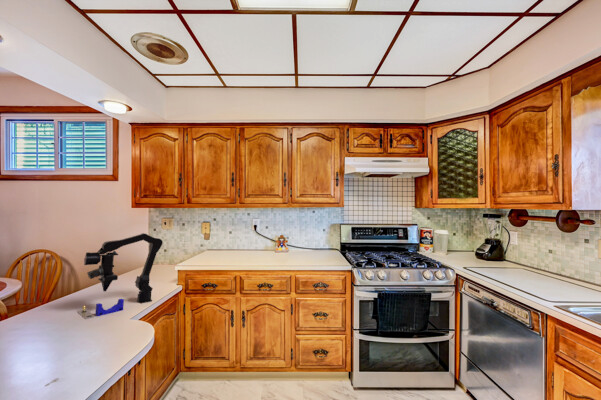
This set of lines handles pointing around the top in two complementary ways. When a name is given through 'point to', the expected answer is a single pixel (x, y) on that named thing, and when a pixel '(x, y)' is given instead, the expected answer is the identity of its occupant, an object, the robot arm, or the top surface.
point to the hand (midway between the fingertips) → (104, 291)
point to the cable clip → (115, 308)
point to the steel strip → (85, 313)
